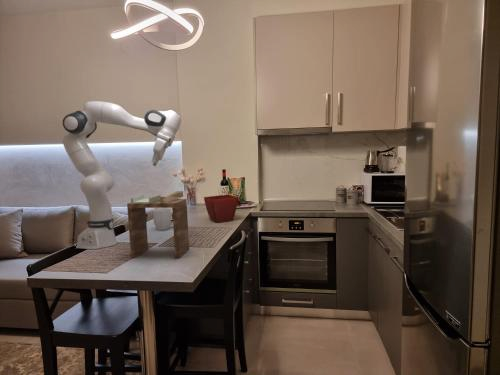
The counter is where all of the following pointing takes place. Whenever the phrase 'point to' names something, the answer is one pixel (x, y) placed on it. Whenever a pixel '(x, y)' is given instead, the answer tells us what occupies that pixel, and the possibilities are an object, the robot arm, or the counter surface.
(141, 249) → the walnut shelf
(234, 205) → the plant pot
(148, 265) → the counter surface
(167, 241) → the counter surface
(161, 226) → the mug
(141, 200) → the sage channel
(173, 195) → the batten
